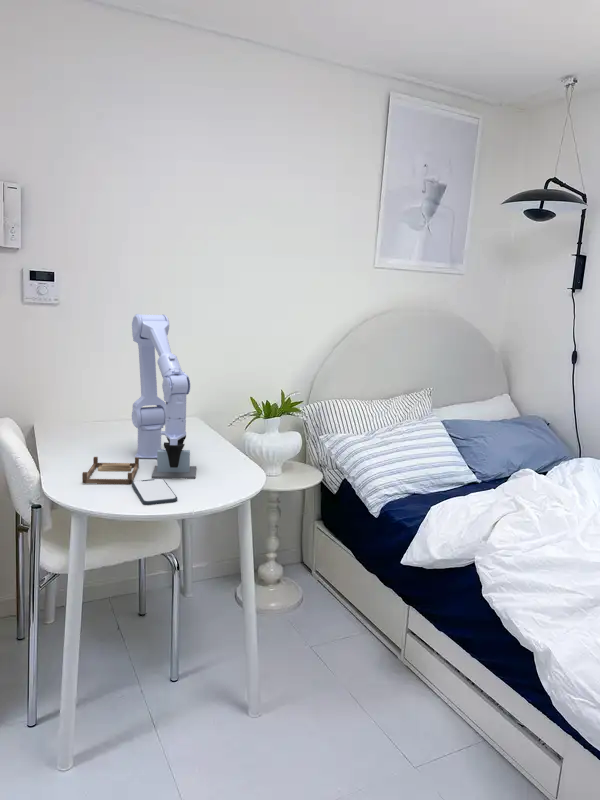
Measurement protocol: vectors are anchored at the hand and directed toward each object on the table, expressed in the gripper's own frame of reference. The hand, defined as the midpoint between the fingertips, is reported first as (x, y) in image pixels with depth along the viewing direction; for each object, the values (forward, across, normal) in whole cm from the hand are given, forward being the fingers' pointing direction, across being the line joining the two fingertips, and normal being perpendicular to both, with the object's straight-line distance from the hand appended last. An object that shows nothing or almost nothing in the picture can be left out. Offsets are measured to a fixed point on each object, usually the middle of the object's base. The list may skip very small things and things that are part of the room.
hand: (174, 463), depth 169 cm
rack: (+3, +2, -17) cm, 17 cm away
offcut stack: (+3, -2, -17) cm, 17 cm away
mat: (+3, 0, 0) cm, 3 cm away
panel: (+2, 0, 0) cm, 2 cm away
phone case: (+4, +17, -4) cm, 18 cm away
